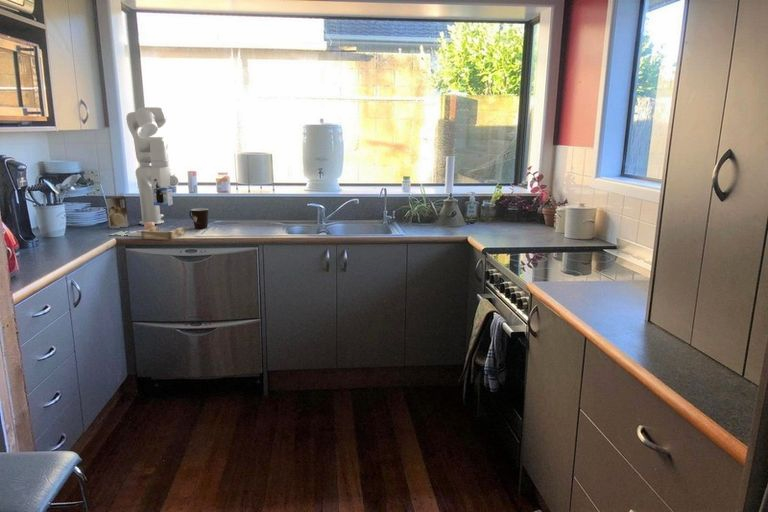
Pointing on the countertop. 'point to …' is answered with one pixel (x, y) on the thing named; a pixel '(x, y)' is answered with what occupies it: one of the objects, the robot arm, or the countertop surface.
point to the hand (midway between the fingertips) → (163, 201)
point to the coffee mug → (200, 217)
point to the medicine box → (164, 197)
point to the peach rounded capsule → (149, 225)
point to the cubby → (161, 233)
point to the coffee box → (117, 212)
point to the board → (120, 233)
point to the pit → (135, 233)
